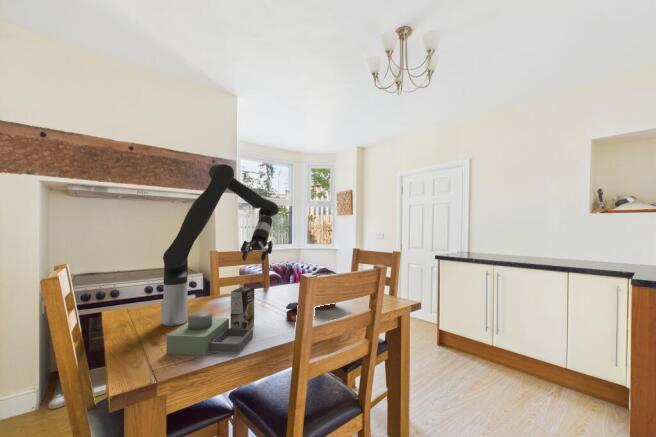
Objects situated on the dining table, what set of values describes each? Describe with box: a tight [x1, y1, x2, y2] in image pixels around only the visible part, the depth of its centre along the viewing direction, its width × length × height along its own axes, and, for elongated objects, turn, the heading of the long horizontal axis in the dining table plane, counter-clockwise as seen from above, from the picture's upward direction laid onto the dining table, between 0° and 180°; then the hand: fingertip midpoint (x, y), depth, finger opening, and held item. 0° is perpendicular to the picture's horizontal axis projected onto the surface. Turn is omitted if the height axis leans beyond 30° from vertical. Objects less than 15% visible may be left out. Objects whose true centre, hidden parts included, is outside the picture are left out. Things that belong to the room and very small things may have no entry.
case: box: [311, 269, 338, 311], centre depth 147 cm, size 18×20×18 cm
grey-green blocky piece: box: [166, 311, 254, 356], centre depth 103 cm, size 24×18×10 cm
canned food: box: [285, 301, 299, 323], centre depth 130 cm, size 11×10×10 cm
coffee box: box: [229, 286, 255, 329], centre depth 118 cm, size 9×6×16 cm
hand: (253, 259), depth 129 cm, fingers open, 8 cm apart
